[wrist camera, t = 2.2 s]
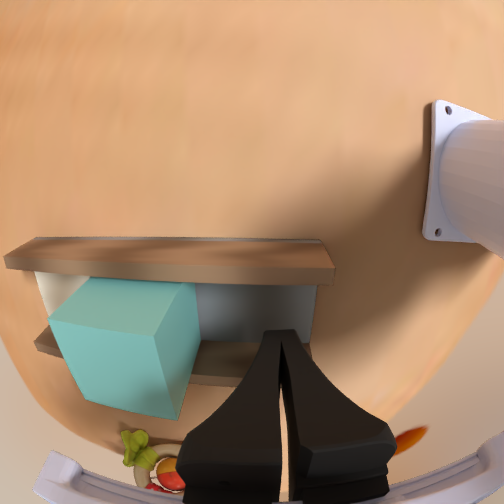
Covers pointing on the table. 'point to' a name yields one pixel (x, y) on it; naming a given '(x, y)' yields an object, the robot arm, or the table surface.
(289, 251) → the chute
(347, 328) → the table surface
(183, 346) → the block
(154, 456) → the bird rattle
